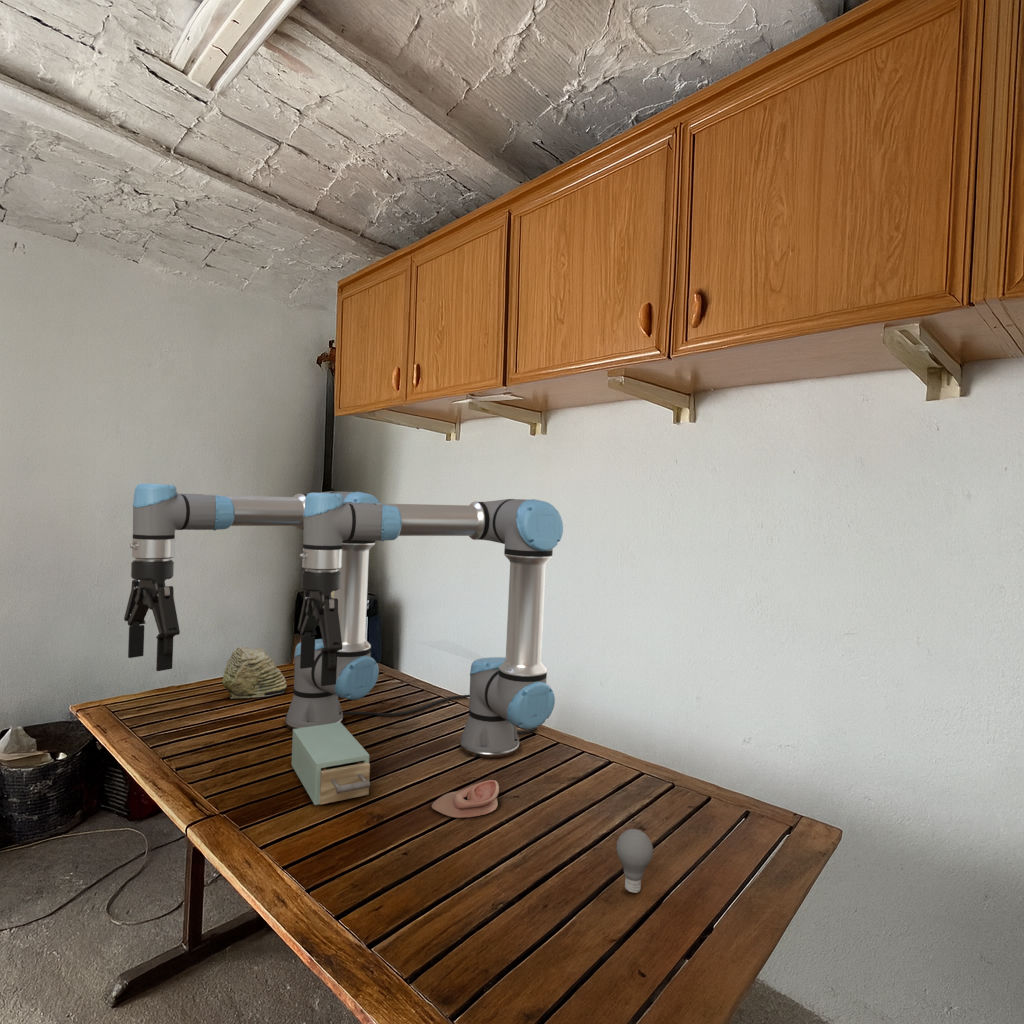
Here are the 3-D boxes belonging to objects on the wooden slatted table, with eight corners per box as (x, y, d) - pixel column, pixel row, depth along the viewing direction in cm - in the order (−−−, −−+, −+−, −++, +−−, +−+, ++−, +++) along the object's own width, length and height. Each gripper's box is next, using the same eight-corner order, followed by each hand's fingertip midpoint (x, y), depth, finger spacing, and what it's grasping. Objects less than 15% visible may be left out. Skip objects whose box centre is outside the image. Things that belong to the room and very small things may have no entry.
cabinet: (367, 794, 136) (369, 754, 136) (314, 805, 130) (316, 764, 130) (339, 756, 154) (340, 722, 154) (291, 765, 149) (292, 728, 148)
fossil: (218, 695, 195) (220, 647, 195) (278, 685, 208) (279, 640, 207) (228, 703, 189) (230, 653, 188) (289, 692, 201) (290, 645, 201)
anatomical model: (427, 794, 128) (444, 771, 139) (426, 813, 128) (443, 788, 139) (490, 803, 125) (503, 779, 137) (489, 823, 126) (502, 797, 137)
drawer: (377, 805, 129) (378, 774, 129) (327, 816, 124) (329, 783, 124) (341, 758, 151) (342, 731, 151) (297, 766, 146) (298, 738, 146)
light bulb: (610, 879, 108) (613, 822, 108) (644, 879, 109) (647, 822, 109) (619, 902, 102) (622, 840, 102) (655, 901, 103) (658, 840, 103)
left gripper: (108, 554, 134) (105, 654, 134) (160, 566, 118) (156, 679, 119) (146, 553, 140) (143, 649, 140) (200, 564, 124) (197, 671, 125)
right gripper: (285, 563, 134) (281, 663, 135) (322, 578, 114) (318, 695, 114) (320, 562, 139) (316, 659, 139) (362, 577, 118) (358, 690, 118)
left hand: (149, 663), depth 129 cm, fingers open, 13 cm apart
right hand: (317, 676), depth 127 cm, fingers open, 13 cm apart
